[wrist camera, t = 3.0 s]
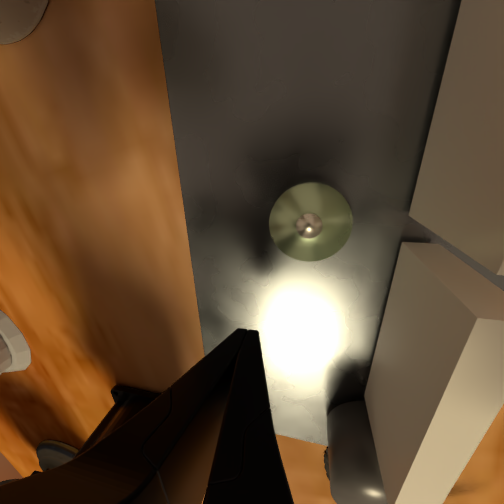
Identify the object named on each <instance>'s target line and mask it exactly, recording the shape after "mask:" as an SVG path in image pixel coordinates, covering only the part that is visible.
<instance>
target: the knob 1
mask: <svg viewBox="0 0 504 504" xmlns="http://www.w3.org/2000/svg"><path fill="white" fill-rule="evenodd" d="M409 216H410V217H411V218H413V219H414V220H416V221H417V222H419V223H420V224H422V225H423V226H425V227H426V228H428V229H429V230H431V231H432V232H434V233H435V234H437V235H438V236H440V237H441V238H443V239H444V240H446V241H447V242H449V243H450V244H452V245H453V246H454V247H456V248H457V249H459V250H460V251H462V252H463V253H465V254H466V255H468V256H469V257H471V258H472V259H474V260H475V261H477V262H478V263H480V264H481V265H483V266H484V267H486V268H487V269H489V270H490V271H492V272H493V273H495V274H496V275H504V0H462V1H461V5H460V9H459V13H458V17H457V21H456V25H455V29H454V33H453V37H452V41H451V45H450V49H449V53H448V57H447V62H446V66H445V70H444V74H443V78H442V82H441V86H440V90H439V94H438V98H437V102H436V106H435V110H434V114H433V118H432V122H431V126H430V130H429V134H428V139H427V143H426V147H425V151H424V155H423V159H422V163H421V167H420V171H419V175H418V179H417V183H416V187H415V191H414V195H413V199H412V203H411V207H410V211H409Z"/></svg>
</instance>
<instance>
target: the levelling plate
mask: <svg viewBox="0 0 504 504" xmlns="http://www.w3.org/2000/svg"><path fill="white" fill-rule="evenodd" d="M461 1H462V0H155V5H156V12H157V19H158V26H159V33H160V41H161V48H162V55H163V62H164V69H165V76H166V83H167V90H168V97H169V105H170V112H171V119H172V126H173V133H174V140H175V147H176V154H177V162H178V169H179V176H180V183H181V190H182V197H183V204H184V211H185V219H186V226H187V233H188V240H189V247H190V254H191V261H192V268H193V275H194V283H195V290H196V297H197V304H198V311H199V318H200V325H201V332H202V340H203V347H204V354H205V356H206V355H207V354H208V353H209V352H211V351H212V350H213V349H214V348H215V347H216V346H218V345H219V344H220V343H221V342H222V341H223V340H224V339H226V338H227V337H228V336H229V335H230V334H231V333H233V332H234V331H235V330H236V329H237V328H244V329H247V330H249V329H251V330H258V331H259V336H260V343H261V349H262V355H263V362H264V368H265V375H266V381H267V388H268V394H269V401H270V409H271V413H272V419H273V425H274V430H275V434H279V435H283V436H287V437H291V438H296V439H300V440H304V441H308V442H313V443H317V444H321V445H326V446H328V439H327V417H328V415H329V413H330V412H331V411H332V410H333V409H334V408H335V407H337V406H339V405H341V404H344V403H347V402H352V401H365V398H364V394H365V390H366V386H367V382H368V378H369V374H370V370H371V365H372V361H373V357H374V353H375V349H376V345H377V341H378V337H379V333H380V329H381V325H382V321H383V317H384V313H385V309H386V305H387V301H388V297H389V293H390V288H391V284H392V280H393V276H394V272H395V268H396V264H397V260H398V256H399V252H400V248H401V244H402V242H414V243H434V244H440V245H441V246H443V247H444V248H445V249H447V250H448V251H449V252H451V253H452V254H454V255H455V256H456V257H458V258H459V259H460V260H462V261H463V262H464V263H466V264H467V265H469V266H470V267H471V268H473V269H474V270H475V271H477V272H478V273H479V274H481V275H482V276H484V277H485V278H486V279H488V280H489V281H490V282H492V283H493V284H494V285H496V286H497V287H499V288H500V289H501V290H503V291H504V275H496V274H495V273H493V272H492V271H490V270H489V269H487V268H486V267H484V266H483V265H481V264H480V263H478V262H477V261H475V260H474V259H472V258H471V257H469V256H468V255H466V254H465V253H463V252H462V251H460V250H459V249H457V248H456V247H454V246H453V245H452V244H450V243H449V242H447V241H446V240H444V239H443V238H441V237H440V236H438V235H437V234H435V233H434V232H432V231H431V230H429V229H428V228H426V227H425V226H423V225H422V224H420V223H419V222H417V221H416V220H414V219H413V218H411V217H410V216H409V211H410V207H411V203H412V199H413V195H414V191H415V187H416V183H417V179H418V175H419V171H420V167H421V163H422V159H423V155H424V151H425V147H426V143H427V139H428V134H429V130H430V126H431V122H432V118H433V114H434V110H435V106H436V102H437V98H438V94H439V90H440V86H441V82H442V78H443V74H444V70H445V66H446V62H447V57H448V53H449V49H450V45H451V41H452V37H453V33H454V29H455V25H456V21H457V17H458V13H459V9H460V5H461Z"/></svg>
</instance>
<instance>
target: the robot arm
mask: <svg viewBox="0 0 504 504" xmlns="http://www.w3.org/2000/svg"><path fill="white" fill-rule="evenodd" d="M111 394H112V397H113V399H114V402H115V404H114V406H113V407H112V408H111V410H110V411H109V412H108V413H107V415H106V416H105V417H104V419H103V420H102V421H101V423H100V424H99V425H98V426H97V428H96V429H95V430H94V432H93V433H92V434H91V436H90V437H89V438H88V439H87V441H86V442H85V443H84V445H83V446H82V447H81V449H80V450H79V451H78V452H77V454H76V455H75V456H74V458H73V459H72V460H71V461H69V462H67V463H65V464H63V465H60V466H58V467H56V468H53V469H49V468H47V469H46V471H44V472H39V471H34V472H33V473H32V474H31V475H30V476H28V477H25V478H22V479H19V480H16V481H13V482H10V483H7V484H3V485H0V504H202V501H203V498H204V501H203V504H294V502H293V498H292V495H291V491H290V488H289V484H288V481H287V477H286V474H285V470H284V467H283V463H282V460H281V456H280V452H279V448H278V444H277V440H276V435H275V430H274V425H273V419H272V413H271V409H270V401H269V394H268V388H267V381H266V375H265V368H264V362H263V355H262V349H261V343H260V336H259V331H258V330H251V329H249V330H247V329H244V328H237V329H236V330H235V331H234V332H233V333H231V334H230V335H229V336H228V337H227V338H226V339H224V340H223V341H222V342H221V343H220V344H219V345H218V346H216V347H215V348H214V349H213V350H212V351H211V352H209V353H208V354H207V355H206V356H205V357H204V358H203V359H201V360H200V361H199V362H198V363H197V364H196V365H194V366H193V367H192V368H191V369H190V370H189V371H188V372H186V373H185V374H184V375H183V376H182V377H181V378H179V379H178V380H177V381H176V382H175V383H174V384H173V385H171V387H169V388H168V389H167V390H165V391H164V392H163V393H162V394H161V395H160V394H155V393H151V392H146V391H142V390H137V389H133V388H128V387H124V386H119V385H115V386H114V387H113V388H112V390H111ZM207 486H208V487H207ZM205 492H206V493H205ZM204 495H205V497H204Z"/></svg>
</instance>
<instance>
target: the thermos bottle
mask: <svg viewBox="0 0 504 504" xmlns="http://www.w3.org/2000/svg"><path fill="white" fill-rule="evenodd" d="M47 4H48V0H0V44H10V43H13V42H17V41H20V40H22V39H23V38H24V37H26V36H27V35H29V34H30V33H31V32H32V31H33V30H34V28H35V27H36V26H37V24H38V23H39V22H40V20H41V18H42V16H43V13H44V11H45V9H46V6H47Z"/></svg>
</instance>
